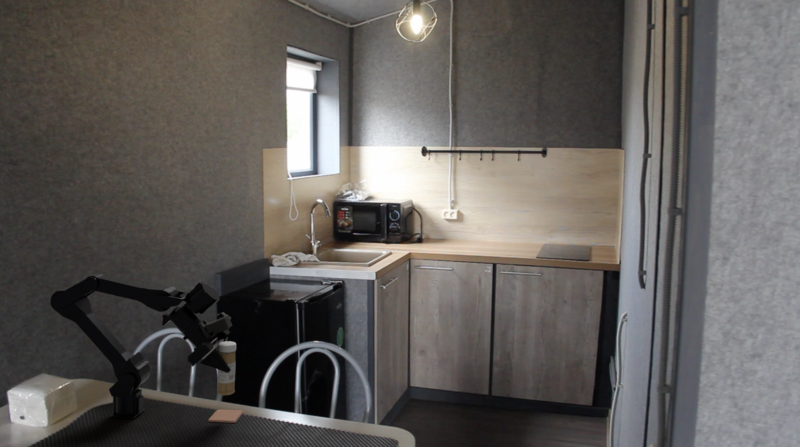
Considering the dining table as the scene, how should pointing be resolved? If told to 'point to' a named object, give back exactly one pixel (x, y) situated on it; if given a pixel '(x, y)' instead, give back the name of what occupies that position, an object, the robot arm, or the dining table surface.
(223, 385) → the sprinkles bottle
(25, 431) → the dining table surface
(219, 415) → the tile
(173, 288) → the robot arm
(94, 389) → the dining table surface
